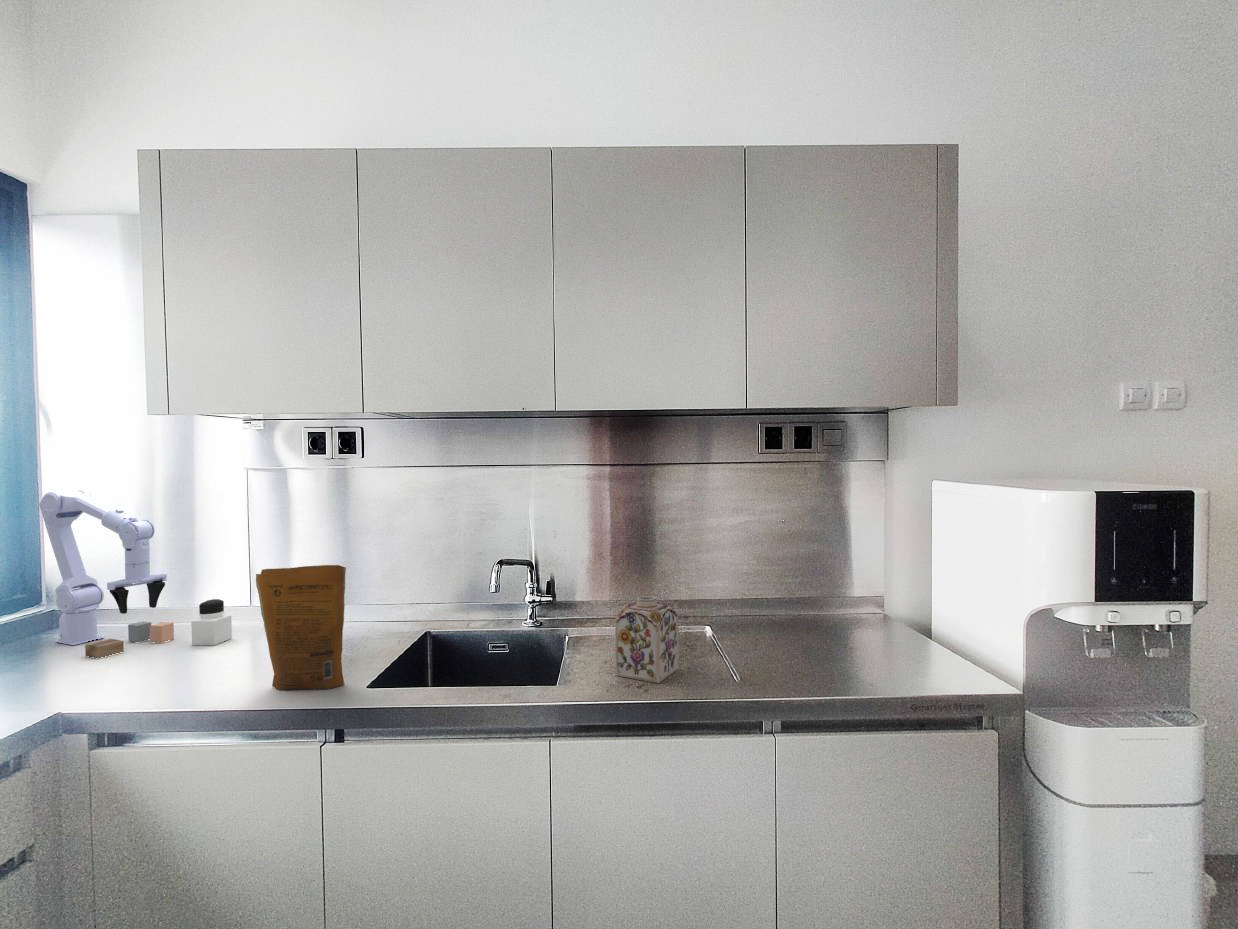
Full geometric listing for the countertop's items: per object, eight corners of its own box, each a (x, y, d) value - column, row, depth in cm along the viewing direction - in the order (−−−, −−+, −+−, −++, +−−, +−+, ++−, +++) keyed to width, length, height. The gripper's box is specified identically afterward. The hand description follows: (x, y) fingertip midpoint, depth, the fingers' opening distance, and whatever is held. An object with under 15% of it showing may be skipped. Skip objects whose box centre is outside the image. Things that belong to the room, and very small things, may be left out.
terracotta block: (150, 643, 185) (149, 625, 185) (162, 639, 189) (161, 622, 189) (161, 643, 184) (161, 626, 184) (173, 639, 188) (173, 622, 188)
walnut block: (85, 657, 173) (85, 644, 173) (110, 651, 178) (110, 638, 178) (98, 659, 170) (98, 646, 170) (123, 653, 176) (123, 640, 176)
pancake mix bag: (342, 692, 143) (339, 566, 143) (256, 694, 143) (253, 568, 142) (354, 681, 150) (351, 561, 149) (271, 683, 149) (269, 563, 149)
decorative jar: (659, 684, 145) (657, 605, 144) (614, 676, 150) (613, 600, 150) (680, 669, 155) (679, 594, 155) (637, 662, 161) (636, 590, 160)
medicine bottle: (232, 638, 188) (231, 597, 188) (214, 645, 181) (213, 603, 181) (209, 638, 189) (208, 597, 189) (191, 645, 182) (190, 603, 182)
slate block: (128, 641, 187) (128, 624, 187) (143, 638, 190) (143, 621, 190) (136, 643, 185) (136, 625, 185) (151, 639, 189) (151, 622, 189)
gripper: (116, 568, 177) (117, 617, 177) (172, 560, 190) (173, 606, 190) (102, 566, 180) (103, 614, 180) (158, 558, 193) (159, 603, 193)
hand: (138, 610), depth 185 cm, fingers open, 7 cm apart
